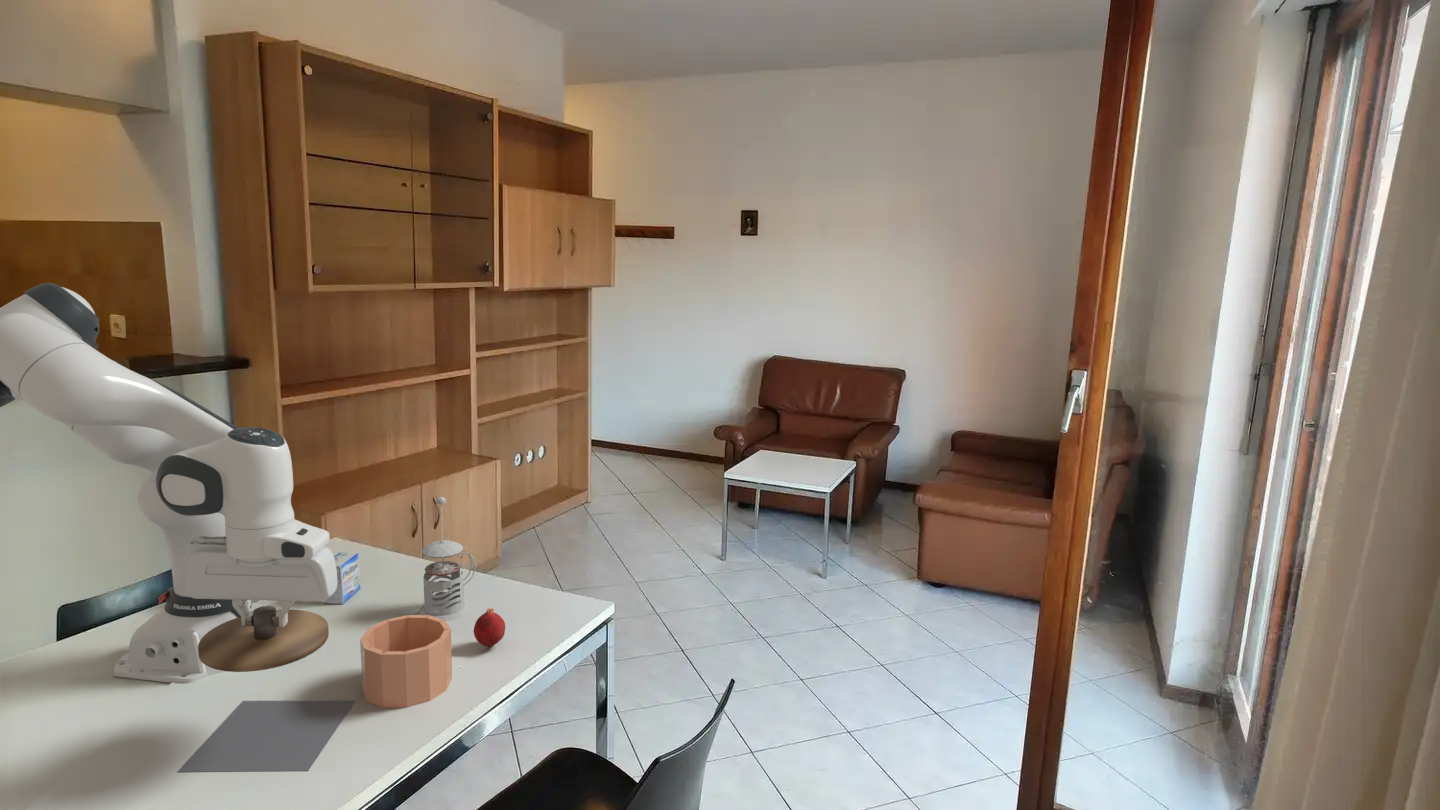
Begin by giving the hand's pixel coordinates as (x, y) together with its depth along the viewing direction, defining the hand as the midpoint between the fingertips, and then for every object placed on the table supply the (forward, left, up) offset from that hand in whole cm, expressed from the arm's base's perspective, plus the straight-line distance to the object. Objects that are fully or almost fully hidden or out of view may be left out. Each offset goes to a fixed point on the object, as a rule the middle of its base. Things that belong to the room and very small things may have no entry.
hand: (265, 624), depth 118 cm
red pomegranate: (+27, +28, -19) cm, 43 cm away
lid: (0, 0, -3) cm, 3 cm away
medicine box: (-9, +50, -19) cm, 54 cm away
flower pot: (+16, +14, -19) cm, 28 cm away
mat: (0, 0, -19) cm, 19 cm away
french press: (+15, +44, -19) cm, 50 cm away
